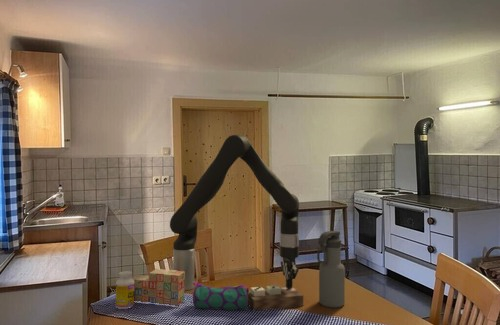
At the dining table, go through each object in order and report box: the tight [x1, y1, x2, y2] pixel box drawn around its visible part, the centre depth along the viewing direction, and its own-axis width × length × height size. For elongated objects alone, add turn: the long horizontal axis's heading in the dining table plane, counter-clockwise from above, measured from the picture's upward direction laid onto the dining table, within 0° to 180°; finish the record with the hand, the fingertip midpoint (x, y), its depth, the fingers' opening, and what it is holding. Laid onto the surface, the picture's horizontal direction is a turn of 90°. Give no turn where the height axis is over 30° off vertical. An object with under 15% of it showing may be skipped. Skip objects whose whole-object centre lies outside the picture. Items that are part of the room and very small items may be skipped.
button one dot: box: [265, 284, 281, 295], centre depth 148 cm, size 4×4×3 cm
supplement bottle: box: [115, 270, 135, 310], centre depth 142 cm, size 7×7×13 cm
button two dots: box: [282, 286, 297, 294], centre depth 150 cm, size 4×4×3 cm
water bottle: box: [316, 230, 346, 309], centre depth 148 cm, size 10×10×28 cm
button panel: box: [247, 285, 304, 311], centre depth 148 cm, size 20×12×4 cm, turn 107°
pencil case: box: [192, 281, 250, 311], centre depth 141 cm, size 21×9×10 cm, turn 88°
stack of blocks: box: [131, 268, 185, 306], centre depth 147 cm, size 21×6×12 cm, turn 77°
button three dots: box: [250, 285, 265, 297], centre depth 146 cm, size 4×4×3 cm
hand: (289, 288), depth 150 cm, fingers closed
